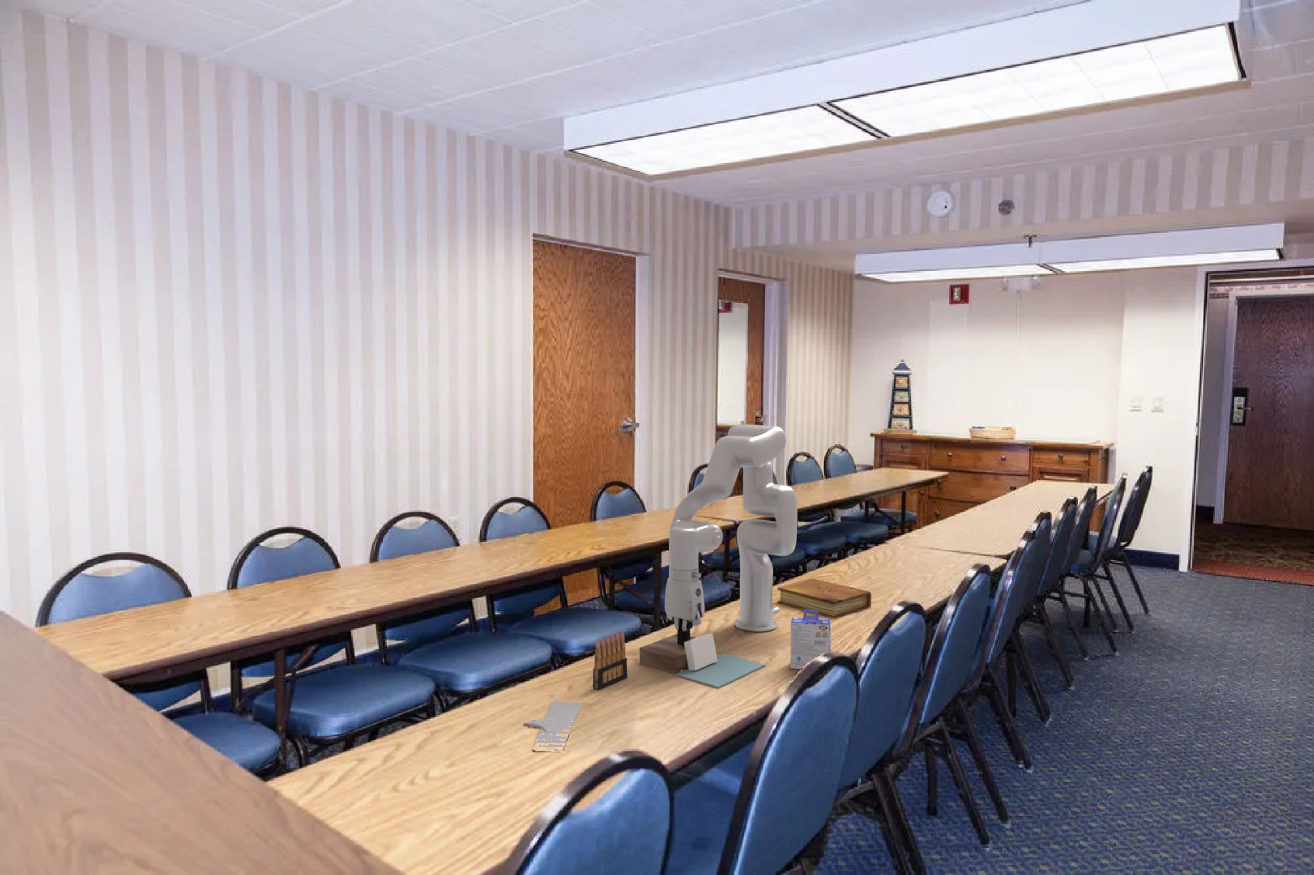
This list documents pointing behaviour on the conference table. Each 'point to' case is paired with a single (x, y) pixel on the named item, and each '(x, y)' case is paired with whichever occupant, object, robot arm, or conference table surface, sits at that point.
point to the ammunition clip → (609, 662)
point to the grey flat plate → (556, 722)
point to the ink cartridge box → (809, 638)
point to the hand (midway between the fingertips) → (683, 644)
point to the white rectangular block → (700, 651)
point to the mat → (722, 671)
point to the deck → (665, 655)
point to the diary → (824, 597)
